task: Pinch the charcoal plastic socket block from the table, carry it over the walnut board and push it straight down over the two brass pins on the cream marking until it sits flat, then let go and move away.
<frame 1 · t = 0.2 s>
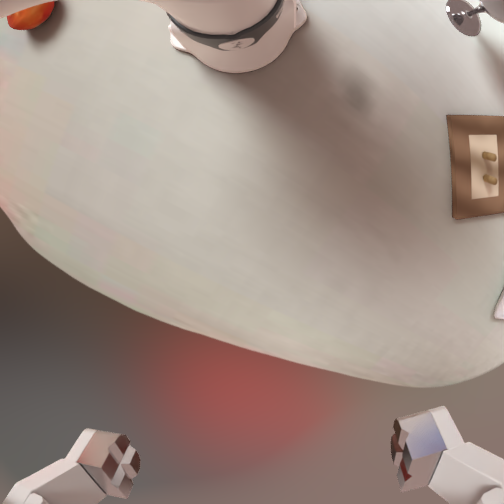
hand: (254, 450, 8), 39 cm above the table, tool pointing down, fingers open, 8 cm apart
wine glass: (463, 16, 30), on the table
tomato: (42, 11, 33), on the table
pin board: (479, 164, 39), on the table
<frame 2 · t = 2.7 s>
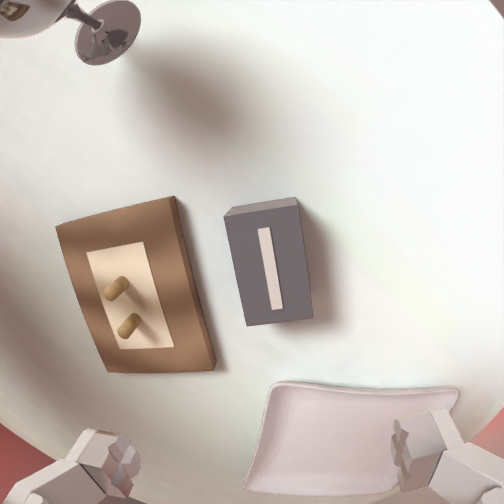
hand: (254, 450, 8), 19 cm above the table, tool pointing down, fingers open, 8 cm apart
wine glass: (106, 31, 21), on the table
socket block: (272, 252, 26), on the table
pin board: (136, 293, 28), on the table
salad plate: (343, 434, 33), on the table
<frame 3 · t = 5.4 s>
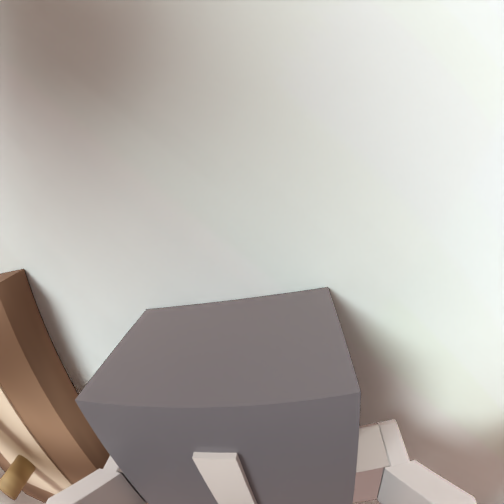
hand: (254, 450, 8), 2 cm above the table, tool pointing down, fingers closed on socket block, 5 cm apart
socket block: (258, 413, 9), on the table, touching gripper
pin board: (23, 421, 12), on the table
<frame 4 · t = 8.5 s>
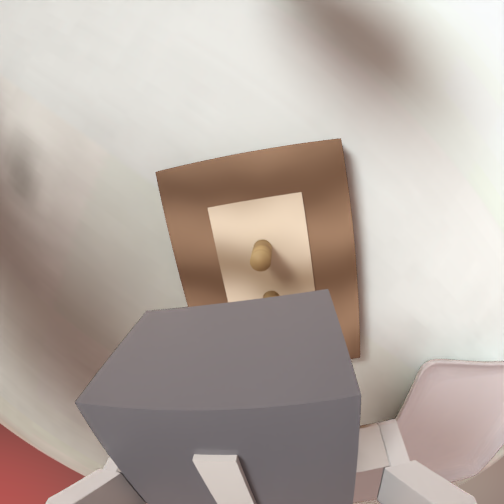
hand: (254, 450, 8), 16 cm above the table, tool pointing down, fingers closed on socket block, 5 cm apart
socket block: (258, 415, 9), point 14 cm above the table, touching gripper
pin board: (267, 266, 23), on the table
salad plate: (451, 418, 27), on the table
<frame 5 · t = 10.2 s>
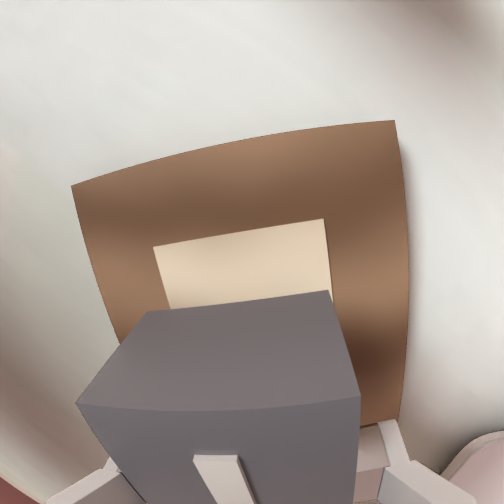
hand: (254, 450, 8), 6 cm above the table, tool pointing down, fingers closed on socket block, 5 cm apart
socket block: (258, 415, 9), point 5 cm above the table, touching gripper
pin board: (262, 335, 14), on the table
salad plate: (483, 475, 18), on the table
when the fingers open (3 cm above the table, at t = 11.6 s): socket block stays where it is, resting on pin board.
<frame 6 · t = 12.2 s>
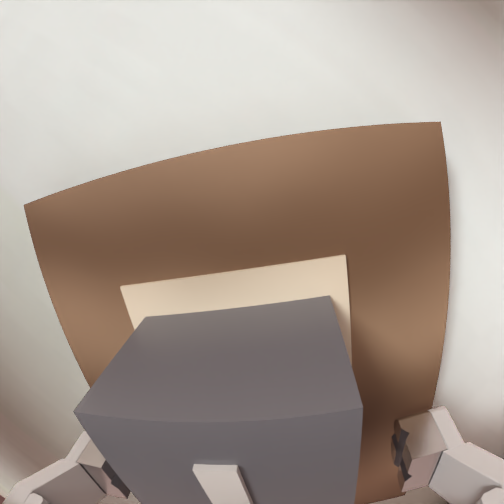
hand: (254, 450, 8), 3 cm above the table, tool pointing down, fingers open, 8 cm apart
socket block: (258, 420, 9), point 2 cm above the table, touching pin board
pin board: (261, 386, 11), on the table
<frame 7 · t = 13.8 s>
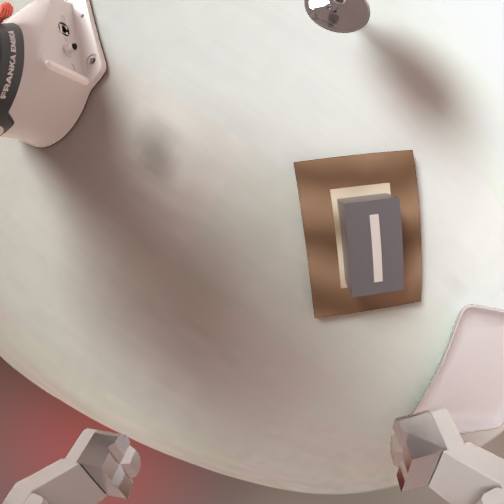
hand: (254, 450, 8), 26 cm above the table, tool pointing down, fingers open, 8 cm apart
wine glass: (337, 6, 25), on the table
socket block: (366, 238, 30), point 2 cm above the table, touching pin board
pin board: (362, 233, 32), on the table
salad plate: (479, 367, 35), on the table
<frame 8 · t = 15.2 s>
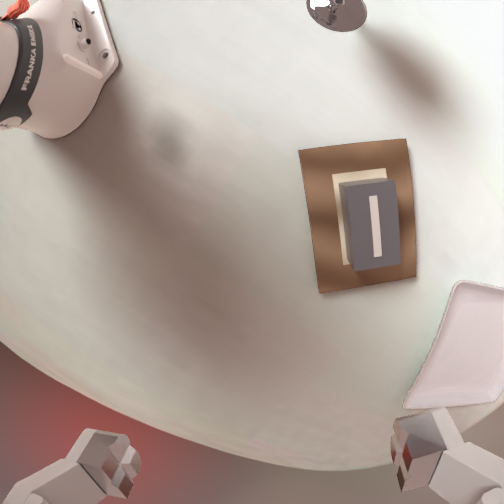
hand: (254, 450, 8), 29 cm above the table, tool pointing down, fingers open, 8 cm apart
wine glass: (336, 7, 28), on the table
socket block: (365, 218, 33), point 2 cm above the table, touching pin board
pin board: (361, 214, 34), on the table
salad plate: (473, 342, 39), on the table
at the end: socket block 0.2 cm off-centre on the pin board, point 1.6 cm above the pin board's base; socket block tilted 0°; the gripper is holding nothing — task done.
